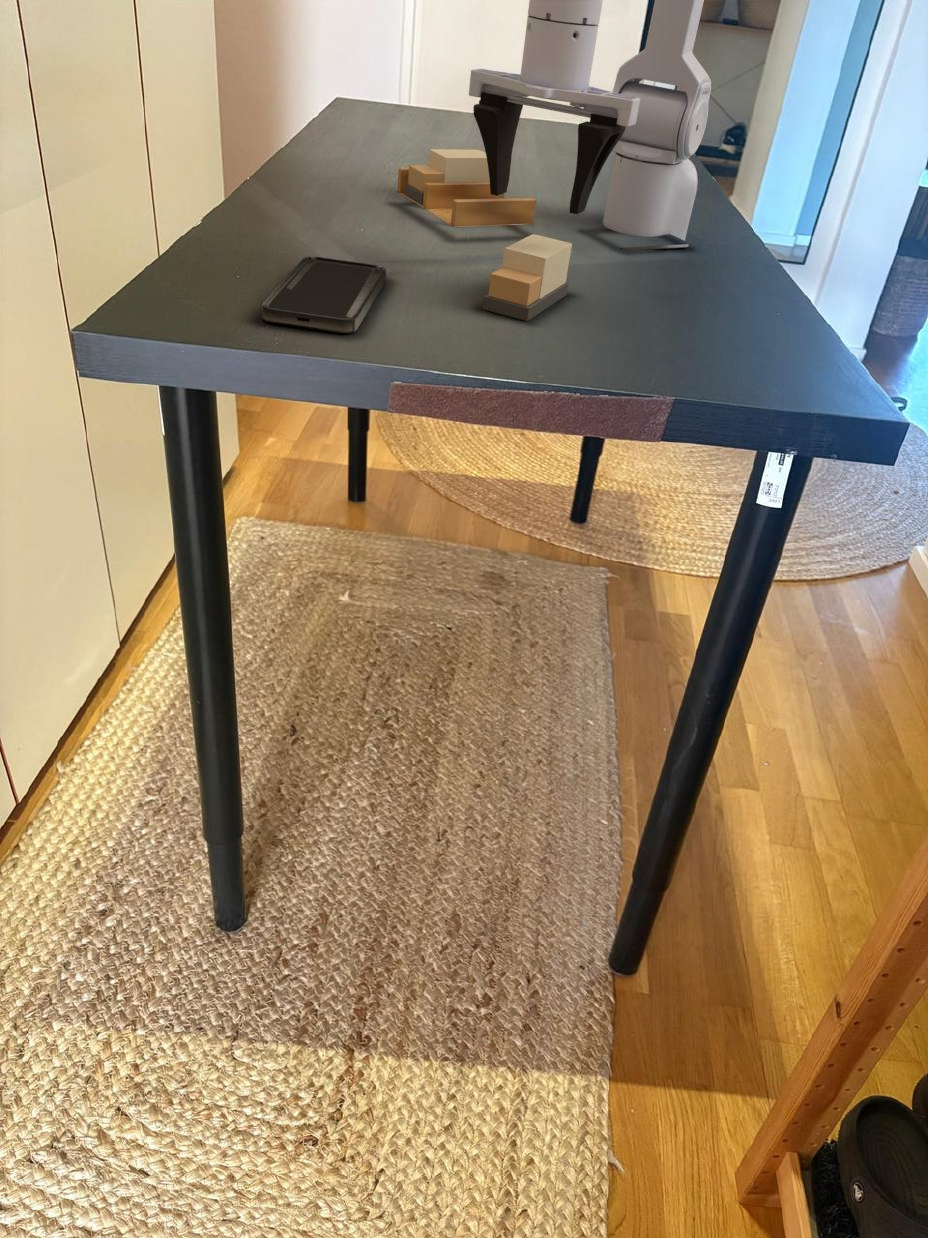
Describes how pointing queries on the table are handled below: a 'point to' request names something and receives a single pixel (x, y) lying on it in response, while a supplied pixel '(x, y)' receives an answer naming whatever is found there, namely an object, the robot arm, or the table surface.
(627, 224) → the robot arm
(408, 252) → the table surface
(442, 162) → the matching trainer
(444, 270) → the table surface
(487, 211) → the wooden compartment tray
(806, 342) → the table surface
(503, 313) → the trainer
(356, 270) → the phone
